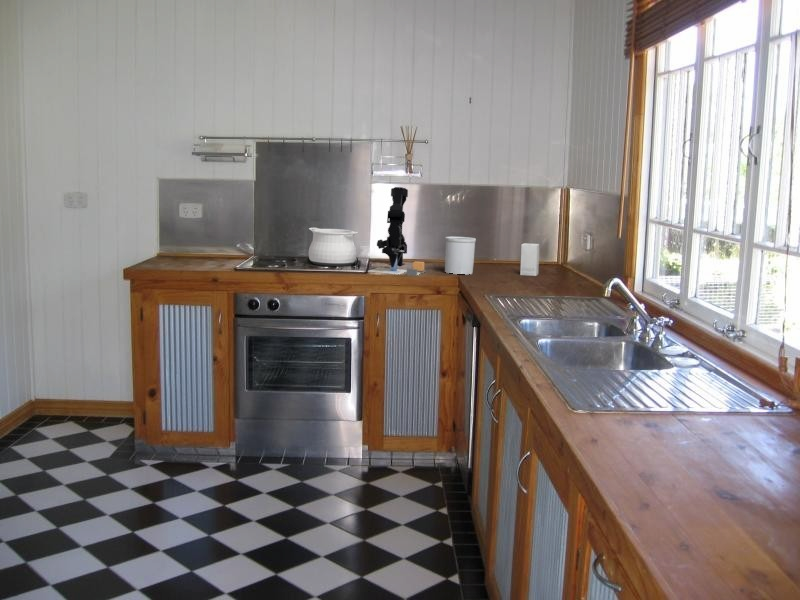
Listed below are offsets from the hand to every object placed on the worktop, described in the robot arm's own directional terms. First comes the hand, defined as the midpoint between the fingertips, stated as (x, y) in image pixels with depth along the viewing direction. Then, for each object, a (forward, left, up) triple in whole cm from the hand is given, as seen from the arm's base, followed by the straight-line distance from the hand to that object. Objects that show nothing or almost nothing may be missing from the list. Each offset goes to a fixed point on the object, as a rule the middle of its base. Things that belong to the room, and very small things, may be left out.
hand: (393, 266), depth 430 cm
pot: (-9, -37, -3) cm, 38 cm away
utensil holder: (-16, +28, -3) cm, 33 cm away
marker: (0, 0, -2) cm, 2 cm away
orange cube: (-4, +11, -1) cm, 12 cm away
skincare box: (-31, +60, -3) cm, 68 cm away
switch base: (-1, +11, -2) cm, 12 cm away
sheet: (0, -3, -2) cm, 4 cm away
